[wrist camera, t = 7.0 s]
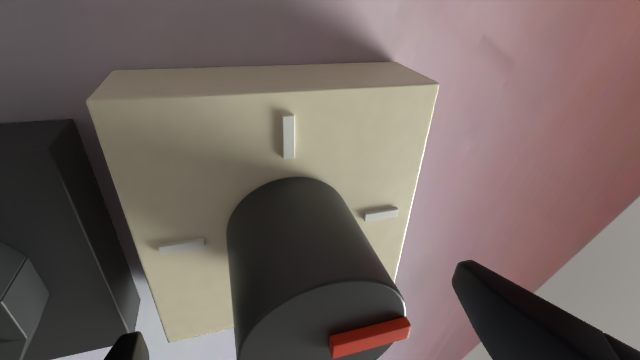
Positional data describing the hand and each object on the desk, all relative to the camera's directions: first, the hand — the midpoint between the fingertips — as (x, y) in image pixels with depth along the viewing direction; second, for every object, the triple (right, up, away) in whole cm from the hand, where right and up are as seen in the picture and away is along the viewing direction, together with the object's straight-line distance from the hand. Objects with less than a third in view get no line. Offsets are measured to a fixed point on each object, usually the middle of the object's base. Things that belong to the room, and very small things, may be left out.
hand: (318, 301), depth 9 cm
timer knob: (-1, +2, +3) cm, 3 cm away
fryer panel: (-2, +3, +5) cm, 6 cm away
